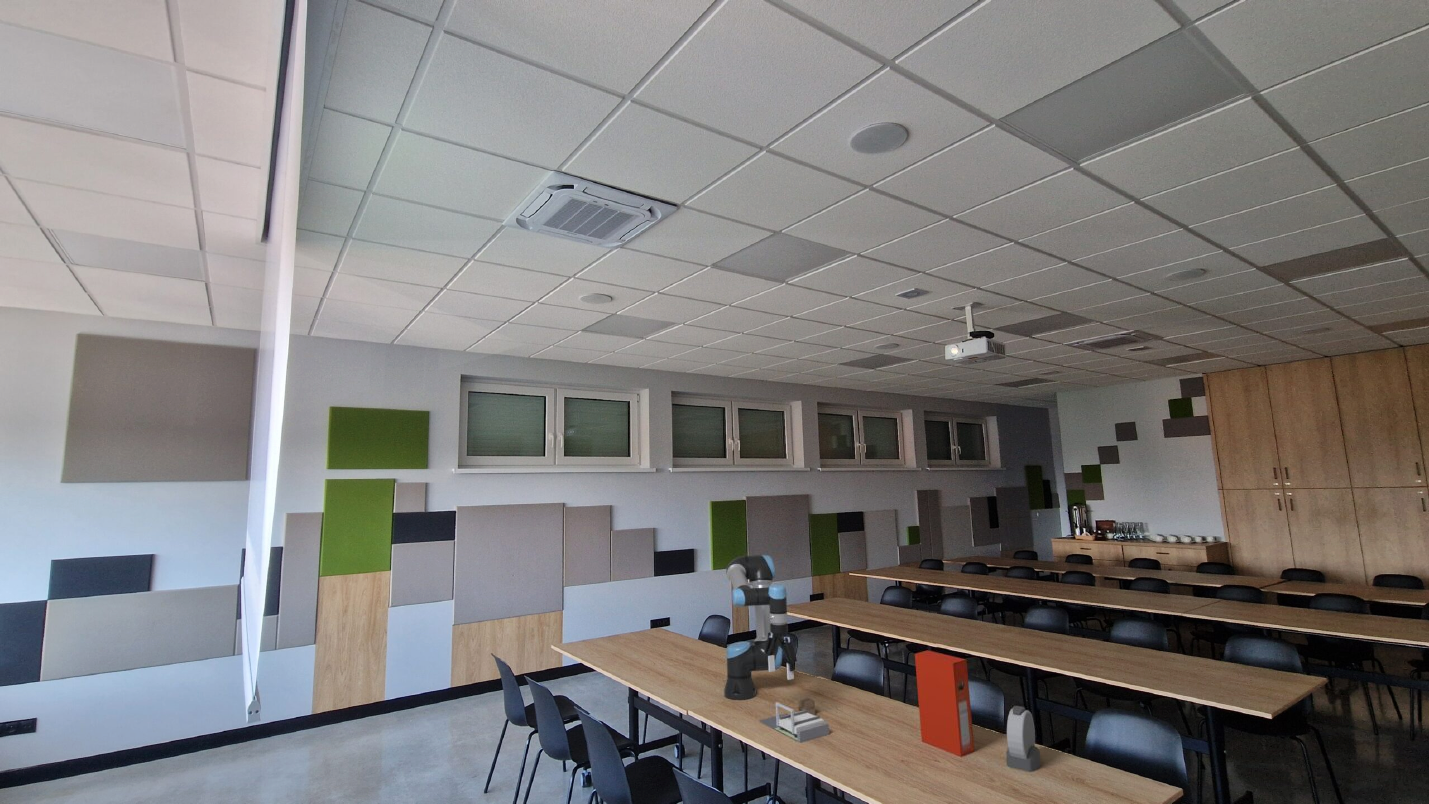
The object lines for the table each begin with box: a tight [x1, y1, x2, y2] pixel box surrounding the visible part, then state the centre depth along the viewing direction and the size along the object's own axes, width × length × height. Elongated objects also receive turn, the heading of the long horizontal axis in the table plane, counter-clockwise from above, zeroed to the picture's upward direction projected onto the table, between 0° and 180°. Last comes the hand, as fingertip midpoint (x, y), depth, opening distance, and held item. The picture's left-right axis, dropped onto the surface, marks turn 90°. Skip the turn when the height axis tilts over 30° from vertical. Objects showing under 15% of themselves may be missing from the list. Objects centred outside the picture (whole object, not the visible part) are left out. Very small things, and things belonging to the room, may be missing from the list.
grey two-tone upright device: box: [1005, 705, 1042, 773], centre depth 217 cm, size 16×10×18 cm, turn 141°
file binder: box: [914, 649, 975, 758], centre depth 234 cm, size 8×17×32 cm, turn 32°
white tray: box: [775, 701, 825, 737], centre depth 251 cm, size 13×15×10 cm
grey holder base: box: [758, 713, 830, 744], centre depth 254 cm, size 28×14×4 cm, turn 31°
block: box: [797, 697, 816, 716], centre depth 269 cm, size 5×5×6 cm
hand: (781, 675), depth 264 cm, fingers open, 13 cm apart
